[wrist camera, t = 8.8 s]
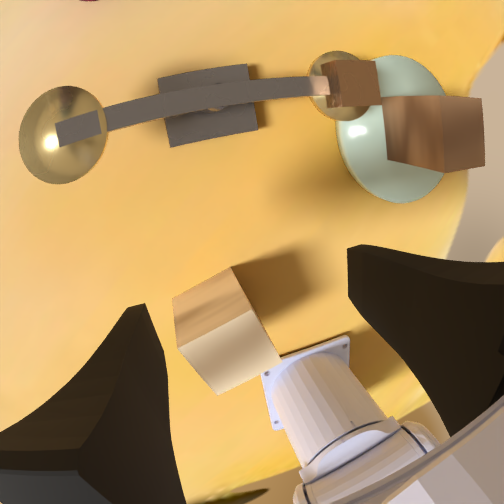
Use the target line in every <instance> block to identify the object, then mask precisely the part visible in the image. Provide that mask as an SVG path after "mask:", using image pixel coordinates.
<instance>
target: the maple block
mask: <svg viewBox="0 0 504 504" xmlns="http://www.w3.org/2000/svg"><path fill="white" fill-rule="evenodd" d="M172 303H173V313H174V323H175V332H176V341H177V349H178V350H179V351H180V352H181V354H182V355H183V356H184V357H185V359H186V360H187V361H188V362H189V363H190V365H191V366H192V367H193V368H194V369H195V370H196V372H197V373H198V374H199V375H200V376H201V378H202V379H203V380H204V381H205V382H206V383H207V384H208V386H209V387H210V388H211V389H212V390H213V391H214V392H215V394H216V395H217V396H218V395H220V394H222V393H224V392H226V391H228V390H230V389H232V388H234V387H236V386H238V385H240V384H242V383H244V382H246V381H248V380H250V379H252V378H254V377H256V376H258V375H260V374H261V373H263V372H265V371H267V370H269V369H271V368H273V367H275V366H276V365H278V364H280V363H282V360H281V358H280V356H279V354H278V352H277V351H276V349H275V347H274V345H273V343H272V341H271V340H270V338H269V336H268V334H267V332H266V330H265V328H264V327H263V325H262V323H261V321H260V319H259V317H258V315H257V314H256V312H255V310H254V308H253V307H252V305H251V303H250V301H249V300H248V298H247V296H246V294H245V292H244V291H243V289H242V287H241V285H240V284H239V282H238V280H237V278H236V276H235V275H234V273H233V271H232V269H231V267H229V268H227V269H225V270H224V271H222V272H220V273H218V274H216V275H214V276H213V277H211V278H209V279H207V280H205V281H203V282H202V283H200V284H198V285H196V286H194V287H192V288H191V289H189V290H187V291H185V292H183V293H181V294H180V295H178V296H176V297H174V298H172Z"/></svg>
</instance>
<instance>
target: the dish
mask: <svg viewBox="0 0 504 504" xmlns="http://www.w3.org/2000/svg"><path fill="white" fill-rule="evenodd" d="M369 61H375V62H376V68H377V74H378V81H379V87H380V95H381V97H394V96H424V95H441V96H446V95H445V93H444V91H443V89H442V87H441V86H440V84H439V83H438V81H437V80H436V78H435V77H434V76H433V75H432V74H431V73H430V72H429V71H428V70H427V69H426V68H425V67H424V66H422V65H421V64H420V63H418V62H416V61H414V60H412V59H410V58H407V57H403V56H398V55H389V56H383V57H379V58H374V59H372V60H369ZM335 124H336V136H337V142H338V146H339V150H340V153H341V156H342V158H343V161H344V163H345V165H346V167H347V169H348V171H349V173H350V174H351V175H352V177H353V178H354V179H355V181H356V182H357V183H358V184H359V185H360V186H361V187H362V188H363V189H365V190H366V191H367V192H369V193H370V194H372V195H374V196H376V197H379V198H382V199H384V200H387V201H389V202H394V203H409V202H413V201H416V200H418V199H420V198H422V197H424V196H425V195H427V194H428V193H429V192H430V191H431V190H433V189H434V188H435V186H436V185H437V184H438V183H439V181H440V180H441V178H442V177H443V175H444V173H441V172H438V171H434V170H430V169H425V168H421V167H417V166H413V165H408V164H404V163H399V162H395V161H390V160H387V149H386V138H385V129H384V120H383V111H382V105H372V106H370V107H369V109H368V110H367V111H366V113H365V114H364V115H363V116H361V117H360V118H358V119H355V120H352V121H336V123H335Z"/></svg>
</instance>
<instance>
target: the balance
mask: <svg viewBox="0 0 504 504" xmlns="http://www.w3.org/2000/svg"><path fill="white" fill-rule="evenodd" d="M158 85H159V91H160V94H158V95H153V96H149V97H144V98H140V99H136V100H132V101H128V102H124V103H120V104H116V105H112V106H109V107H105V108H103V106H102V104H101V103H100V102H99V100H98V99H97V98H96V97H95V96H94V95H92V94H91V93H89V92H88V91H86V90H83V89H81V88H78V87H73V86H62V87H57V88H54V89H51V90H49V91H47V92H45V93H44V94H42V95H41V96H40V97H39V98H37V99H36V100H35V101H34V102H33V103H32V105H31V106H30V107H29V109H28V110H27V112H26V114H25V116H24V118H23V120H22V123H21V126H20V131H19V149H20V154H21V157H22V160H23V162H24V164H25V165H26V167H27V168H28V170H29V171H30V172H31V173H32V174H33V175H34V176H35V177H37V178H38V179H40V180H42V181H44V182H47V183H51V184H66V183H69V182H72V181H75V180H77V179H79V178H81V177H82V176H84V175H85V174H87V173H88V172H89V171H90V170H92V169H93V168H94V166H95V165H96V164H97V163H98V161H99V160H100V158H101V157H102V155H103V153H104V150H105V147H106V144H107V140H108V133H109V132H112V131H115V130H119V129H122V128H126V127H130V126H134V125H137V124H141V123H145V122H149V121H154V120H158V119H162V118H165V123H166V128H167V134H168V139H169V144H170V148H171V147H175V146H180V145H184V144H188V143H193V142H198V141H202V140H207V139H212V138H217V137H222V136H227V135H233V134H238V133H244V132H250V131H255V130H258V125H257V119H256V113H255V107H254V102H259V101H267V100H276V99H286V98H297V97H310V99H311V101H312V103H313V104H314V106H315V107H316V108H317V110H318V111H319V112H321V113H322V114H323V115H324V116H326V117H328V118H330V119H332V120H336V121H352V120H355V119H358V118H360V117H361V116H363V115H364V114H365V113H366V111H367V110H368V109H369V107H370V106H372V105H382V102H381V95H380V87H379V81H378V74H377V68H376V62H375V61H368V60H359V59H358V58H356V57H355V56H353V55H351V54H349V53H347V52H343V51H332V52H328V53H325V54H323V55H321V56H319V57H318V58H316V59H315V60H314V61H313V63H312V64H311V66H310V68H309V70H308V73H307V76H306V77H284V78H270V79H258V80H250V78H249V73H248V67H247V64H240V65H232V66H224V67H217V68H211V69H205V70H199V71H193V72H188V73H182V74H177V75H172V76H168V77H163V78H158Z"/></svg>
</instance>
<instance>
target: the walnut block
mask: <svg viewBox="0 0 504 504" xmlns="http://www.w3.org/2000/svg"><path fill="white" fill-rule="evenodd" d="M381 102H382V111H383V120H384V129H385V138H386V149H387V160H390V161H395V162H399V163H404V164H408V165H413V166H417V167H421V168H425V169H430V170H434V171H438V172H441V173H448V172H454V171H459V170H465V169H470V168H476V167H482V166H485V147H484V125H483V112H482V101H481V98H470V97H458V96H441V95H424V96H394V97H381Z"/></svg>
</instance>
